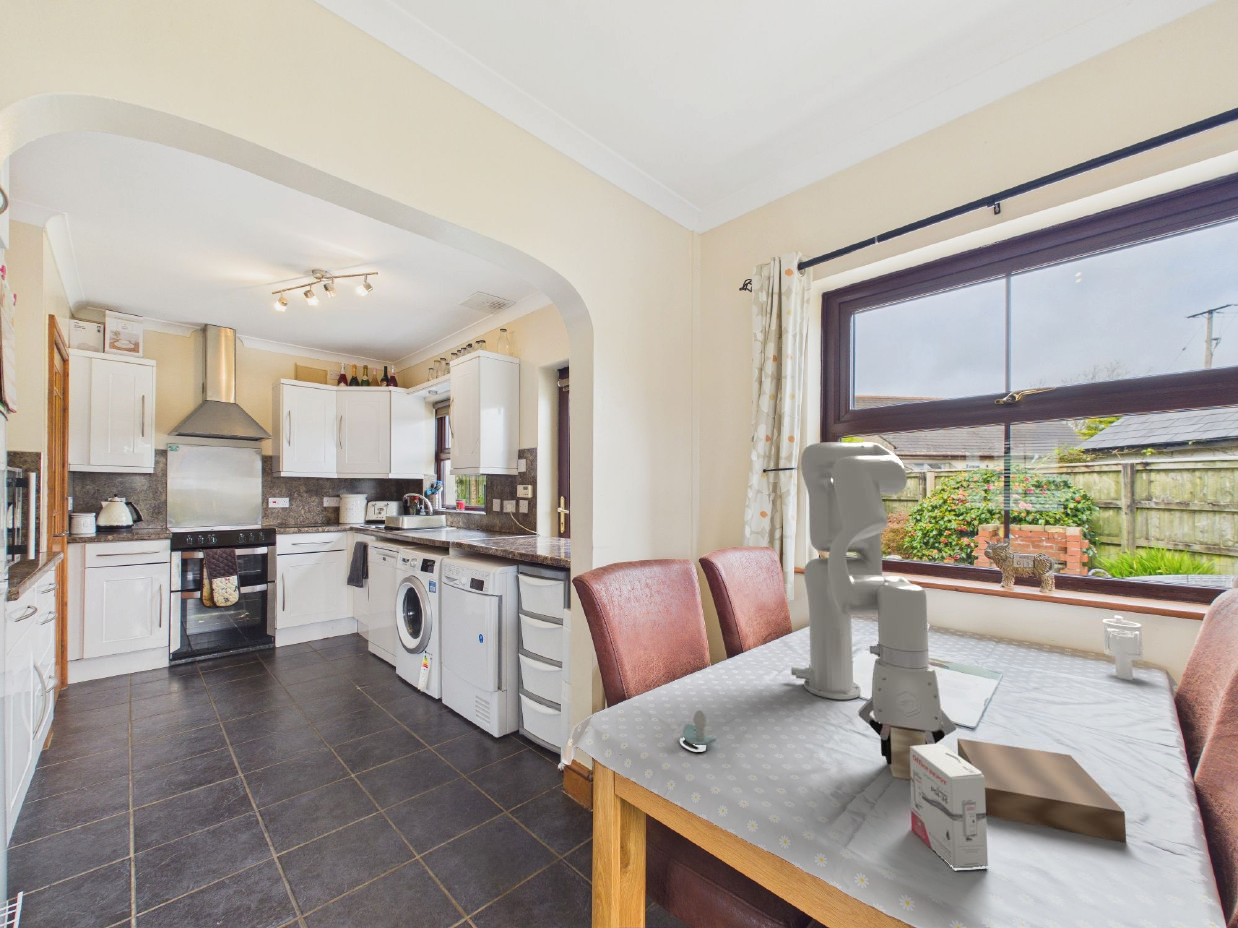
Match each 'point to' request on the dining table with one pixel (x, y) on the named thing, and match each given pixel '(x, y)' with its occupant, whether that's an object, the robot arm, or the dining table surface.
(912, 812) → the ink box
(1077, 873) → the dining table surface
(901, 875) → the dining table surface
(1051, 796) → the walnut base
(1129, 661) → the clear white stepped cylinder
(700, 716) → the pacifier
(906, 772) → the birch block
